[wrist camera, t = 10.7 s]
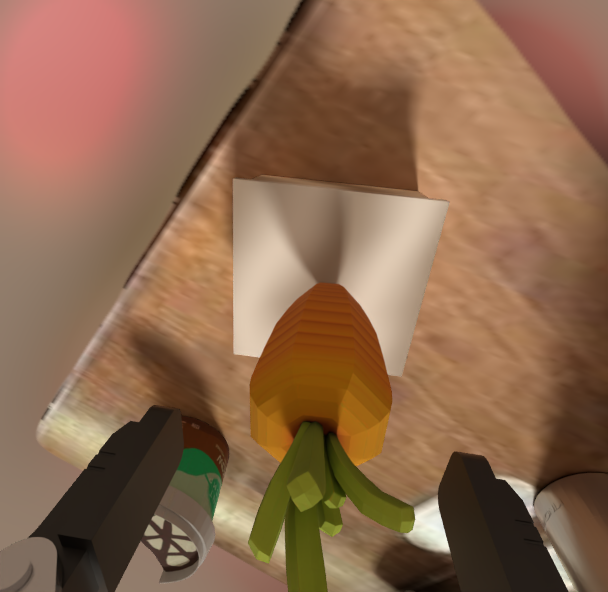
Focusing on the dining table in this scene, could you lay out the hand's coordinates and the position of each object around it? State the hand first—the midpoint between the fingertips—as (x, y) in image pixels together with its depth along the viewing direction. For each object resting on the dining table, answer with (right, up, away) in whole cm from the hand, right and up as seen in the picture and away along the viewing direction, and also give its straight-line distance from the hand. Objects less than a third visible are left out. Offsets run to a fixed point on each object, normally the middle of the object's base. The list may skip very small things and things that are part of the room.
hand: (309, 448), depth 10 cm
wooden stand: (+2, +8, +16) cm, 18 cm away
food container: (-10, -12, +26) cm, 31 cm away
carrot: (+1, +5, +10) cm, 12 cm away
